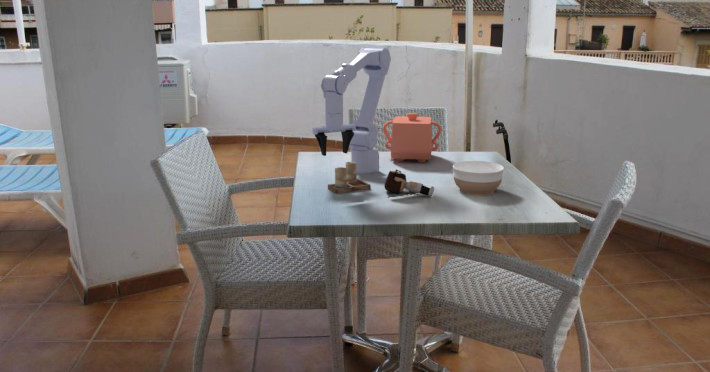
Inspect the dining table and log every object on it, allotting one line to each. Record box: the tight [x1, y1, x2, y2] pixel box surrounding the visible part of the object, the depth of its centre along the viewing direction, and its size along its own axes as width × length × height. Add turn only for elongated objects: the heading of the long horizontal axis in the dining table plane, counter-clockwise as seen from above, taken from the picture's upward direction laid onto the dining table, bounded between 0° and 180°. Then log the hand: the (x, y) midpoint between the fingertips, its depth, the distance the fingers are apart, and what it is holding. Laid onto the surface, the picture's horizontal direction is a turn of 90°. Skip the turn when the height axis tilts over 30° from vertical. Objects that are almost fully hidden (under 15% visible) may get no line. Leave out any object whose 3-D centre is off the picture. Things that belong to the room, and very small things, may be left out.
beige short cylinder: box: [345, 161, 358, 182], centre depth 198 cm, size 4×4×6 cm
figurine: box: [384, 169, 435, 198], centre depth 186 cm, size 9×8×15 cm
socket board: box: [327, 179, 372, 195], centre depth 191 cm, size 12×6×2 cm, turn 116°
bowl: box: [452, 160, 505, 196], centre depth 191 cm, size 16×16×8 cm
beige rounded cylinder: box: [334, 166, 347, 189], centre depth 189 cm, size 4×4×6 cm
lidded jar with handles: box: [382, 112, 443, 163], centre depth 237 cm, size 25×23×18 cm
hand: (334, 154), depth 198 cm, fingers open, 7 cm apart
